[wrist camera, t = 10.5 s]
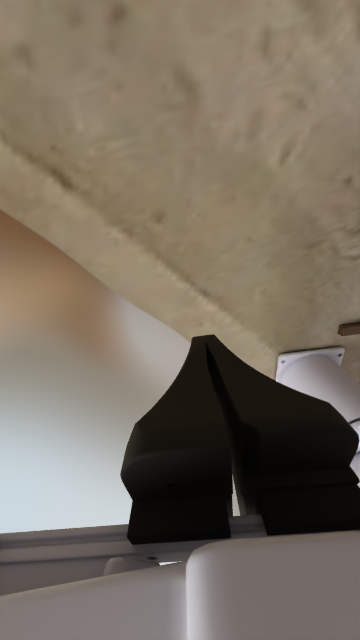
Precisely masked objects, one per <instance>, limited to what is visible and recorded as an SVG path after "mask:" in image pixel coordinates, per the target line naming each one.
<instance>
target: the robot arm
mask: <svg viewBox="0 0 360 640" xmlns="http://www.w3.org/2000/svg"><path fill="white" fill-rule="evenodd" d="M344 352H345V350H344V349H343V348H342V347H335V348H327V349H319V350H311V351H302V352H294V353H286V354H281V355H279V356H278V362H277V371H276V380H273V379H271V378H269V377H267V376H266V375H264V374H262V373H260V372H258V371H257V370H255V369H254V368H252V367H251V366H249V365H247V364H246V363H245V362H243V361H242V360H241V359H239V358H238V357H237V356H236V355H235V354H233V353H232V352H231V351H230V350H229V349H228V348H227V347H226V346H225V345H224V344H223V343H222V342H221V341H220V340H219V339H218V338H217V337H216V336H215V335H214V334H213V335H205V336H197V337H193V338H192V342H191V346H190V351H189V353H188V355H187V358H186V360H185V362H184V365H183V367H182V368H181V370H180V372H179V374H178V376H177V377H176V379H175V380H174V382H173V383H172V385H171V386H170V387H169V389H168V390H167V391H166V393H165V394H164V395H163V396H162V397H161V399H160V400H159V401H158V402H157V403H156V404H155V405H154V406H153V408H152V409H151V410H150V411H149V412H147V413H146V414H145V415H144V416H143V417H142V418H141V419H140V420H139V421H138V422H137V423H136V424H135V426H134V428H133V431H132V433H131V436H130V439H129V441H128V444H127V448H126V452H125V456H124V460H123V465H122V470H121V474H120V475H121V479H122V482H123V483H124V485H125V487H126V489H127V491H128V493H129V494H130V496H131V498H132V500H133V502H132V509H131V514H130V520H129V524H124V525H111V526H97V527H84V528H70V529H57V530H43V531H29V532H16V533H2V534H0V640H360V382H359V381H357V380H356V379H355V378H354V377H352V376H351V375H350V374H349V373H348V372H346V371H345V370H344V369H343V368H342V367H340V365H341V362H342V358H343V355H344ZM282 360H283V361H282ZM232 474H233V479H234V484H235V490H236V495H237V500H238V505H239V510H240V516H234V517H233V509H232V494H233V485H232V484H233V483H232ZM177 561H182V562H177ZM161 562H177V563H172V564H166V565H161V566H160V564H159V563H161Z"/></svg>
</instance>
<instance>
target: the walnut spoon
mask: <svg viewBox="0 0 360 640" xmlns="http://www.w3.org/2000/svg"><path fill="white" fill-rule="evenodd" d="M338 334H339V335H341V336H347V335H355V334H360V322H359V323H351V324H344V325H340V326H339V330H338Z"/></svg>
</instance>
